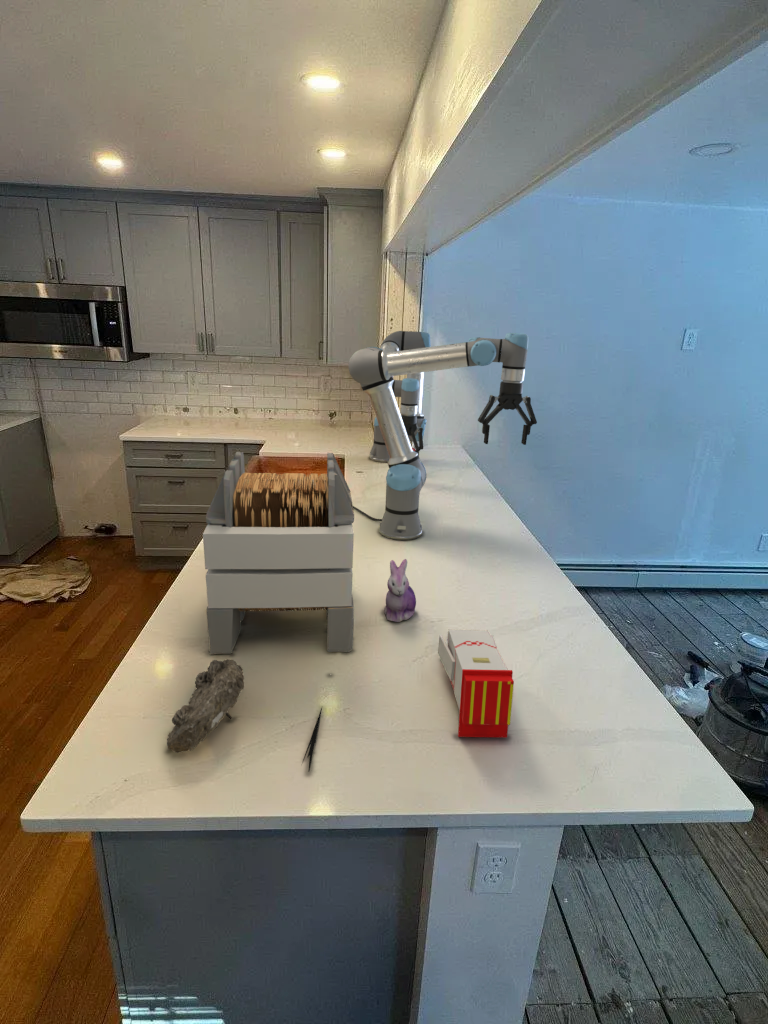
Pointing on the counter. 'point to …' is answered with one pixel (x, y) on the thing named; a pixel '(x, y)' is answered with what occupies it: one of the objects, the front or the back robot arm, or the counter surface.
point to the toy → (478, 682)
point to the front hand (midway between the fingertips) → (504, 443)
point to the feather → (313, 740)
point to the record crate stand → (279, 550)
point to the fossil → (206, 705)
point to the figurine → (399, 594)
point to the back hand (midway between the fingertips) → (405, 464)
